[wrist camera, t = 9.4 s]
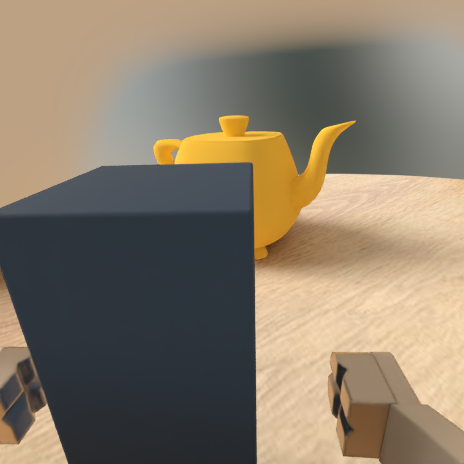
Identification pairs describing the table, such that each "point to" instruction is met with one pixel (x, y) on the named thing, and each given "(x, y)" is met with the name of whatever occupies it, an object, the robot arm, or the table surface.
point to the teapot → (260, 170)
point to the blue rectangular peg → (141, 310)
